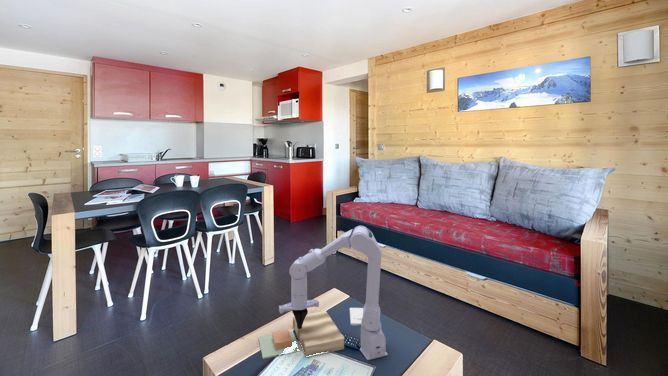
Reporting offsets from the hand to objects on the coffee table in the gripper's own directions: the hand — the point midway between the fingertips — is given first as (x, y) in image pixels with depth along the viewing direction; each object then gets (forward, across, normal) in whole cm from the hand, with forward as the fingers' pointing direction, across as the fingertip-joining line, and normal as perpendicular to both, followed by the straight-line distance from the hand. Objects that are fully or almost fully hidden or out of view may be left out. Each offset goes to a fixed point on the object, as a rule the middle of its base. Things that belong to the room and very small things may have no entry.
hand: (299, 327), depth 115 cm
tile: (+3, +6, 0) cm, 7 cm away
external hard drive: (+6, -28, -7) cm, 30 cm away
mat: (+5, +8, 0) cm, 9 cm away
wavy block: (+5, -7, 0) cm, 9 cm away
